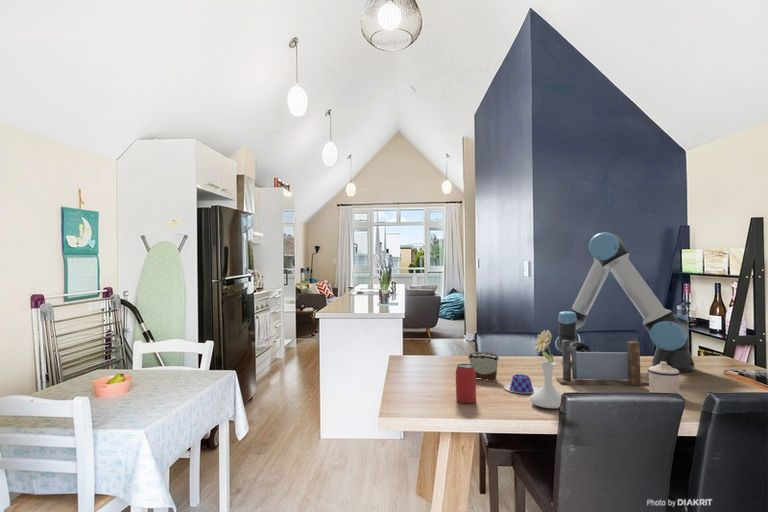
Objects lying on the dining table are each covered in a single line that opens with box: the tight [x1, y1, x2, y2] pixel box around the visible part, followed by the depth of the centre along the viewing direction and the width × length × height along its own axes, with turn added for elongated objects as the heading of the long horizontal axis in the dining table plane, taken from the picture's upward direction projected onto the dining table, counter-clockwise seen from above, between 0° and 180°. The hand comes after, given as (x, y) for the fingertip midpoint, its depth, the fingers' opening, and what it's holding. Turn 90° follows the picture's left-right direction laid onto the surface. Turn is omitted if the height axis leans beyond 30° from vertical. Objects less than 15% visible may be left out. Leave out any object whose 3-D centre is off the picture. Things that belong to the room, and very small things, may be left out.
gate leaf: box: [571, 347, 628, 380], centre depth 161 cm, size 21×2×12 cm, turn 82°
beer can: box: [455, 363, 477, 405], centre depth 144 cm, size 7×7×12 cm
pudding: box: [504, 373, 540, 395], centre depth 155 cm, size 12×12×5 cm
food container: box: [467, 351, 500, 382], centre depth 171 cm, size 12×6×10 cm, turn 65°
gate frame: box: [555, 340, 649, 387], centre depth 161 cm, size 32×7×16 cm, turn 84°
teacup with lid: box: [646, 362, 681, 395], centre depth 146 cm, size 12×9×12 cm
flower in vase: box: [529, 329, 563, 409], centre depth 137 cm, size 13×11×25 cm
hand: (609, 364), depth 162 cm, fingers closed
